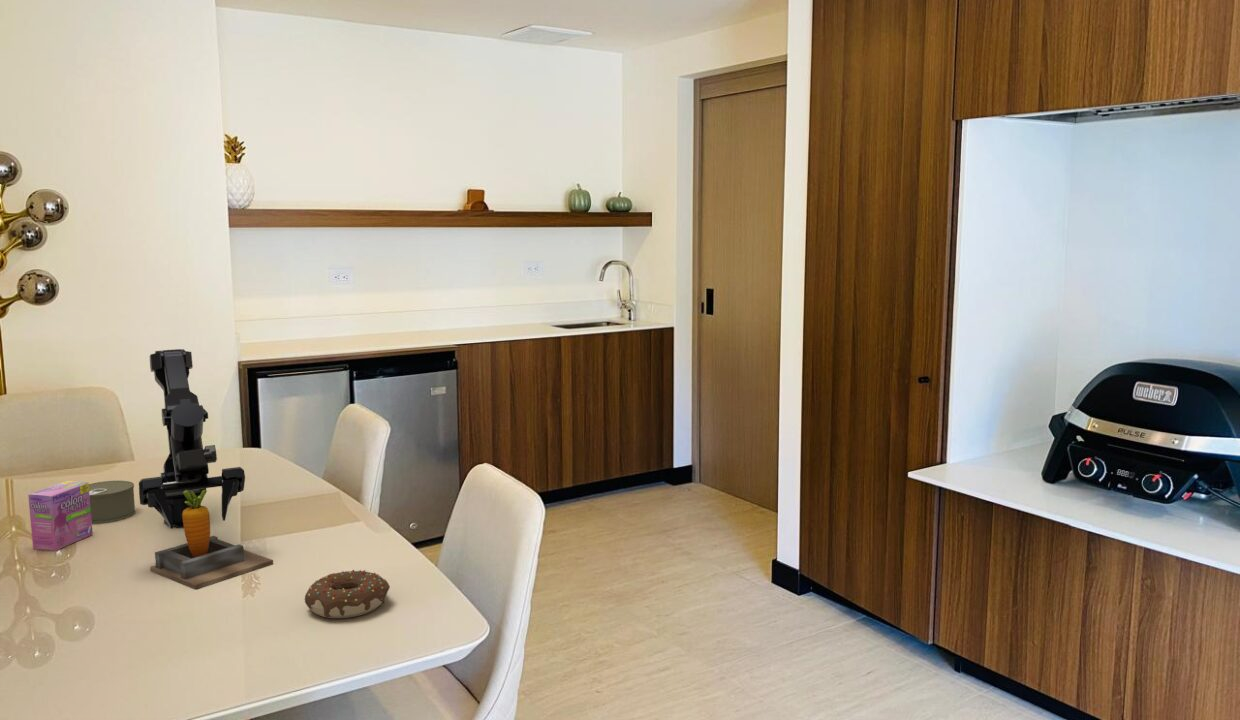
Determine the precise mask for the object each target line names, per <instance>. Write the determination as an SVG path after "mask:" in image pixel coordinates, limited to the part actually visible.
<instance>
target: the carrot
mask: <svg viewBox="0 0 1240 720" xmlns="http://www.w3.org/2000/svg"><path fill="white" fill-rule="evenodd" d="M207 492H208V491H207V489H206V490H203V491H202V492H201V494H200V496H198V497H196V495H195V493H194V492H193V491H190V493H189V492H188V490H185V491H184V492H183V494H184V495H185V497H186V498H187V500H188V501H185V503H186V504H187V505H189V506H190V507H189V508H186V509H185V510H184V511H183V512H182V518H183V525H184V526H183V531H184V532H183V533H184V535H185V536H184V537H185V539H186V543H188V546H189V549H190V552H191V554H192V556H193V557H194V558H195V557H199V556H202V555H205V554H207V551H208V548H209V540H210V537H211V521H210V512H209V510H208V507H207V506H205V505H201V506H200V504H202V502H203V500H204V497H205V495H207ZM190 494H191V495H190ZM191 496H192V497H193V499H192V497H191Z"/></svg>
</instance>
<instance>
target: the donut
mask: <svg viewBox="0 0 1240 720" xmlns="http://www.w3.org/2000/svg"><path fill="white" fill-rule="evenodd" d="M390 586H391V585H389V583H388V581H387V579H386V578H383V577H382V576H381V575H379V573H376V572H370V571H366V570H365V569H364V570H361V569H359V570H354V569H352V570H348V571H344V570H342V571H341V572H336V573H335V572H334V573H333V572H332V573H329V574H328V575H325V576H322V577H321V578H319V579H316V580H315V581H314V582H313V583H312V584H311V585H310V586H309V587H308V590H307V591H306V593H305V595H304V604H305V605H306V607H308V608H309V610H310V611H311V612H313V613H314V614H316V615H318V616H320V617H322V618H327V619H328V618H329V619H347V618H355V617H359V616H362V615H366V614H368V613H371V612H372V611H374V610H376V609H378V608H379V606H381V605H382V604H384V603H385V599H386V598H387V594H388V592H389V590H390Z"/></svg>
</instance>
